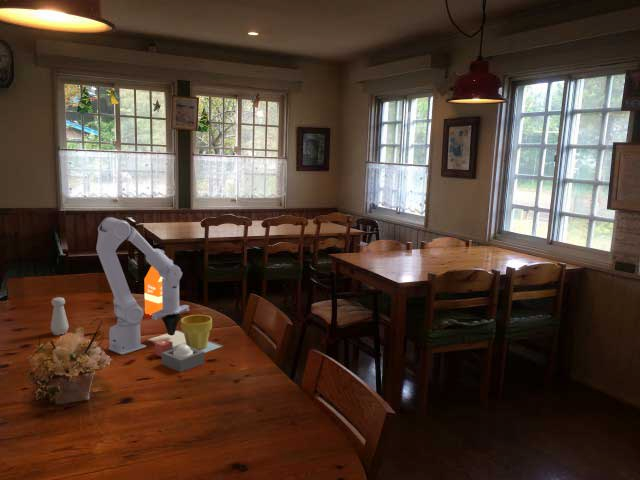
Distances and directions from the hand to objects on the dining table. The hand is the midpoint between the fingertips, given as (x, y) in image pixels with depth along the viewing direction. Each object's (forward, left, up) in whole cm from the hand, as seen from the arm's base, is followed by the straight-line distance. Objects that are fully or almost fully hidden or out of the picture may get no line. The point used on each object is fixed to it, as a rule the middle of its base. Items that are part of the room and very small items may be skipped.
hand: (171, 334), depth 189 cm
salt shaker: (-23, +33, -2) cm, 40 cm away
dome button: (-12, -21, 0) cm, 24 cm away
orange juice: (+15, +27, -2) cm, 31 cm away
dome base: (-12, -21, -1) cm, 24 cm away
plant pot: (0, -13, -2) cm, 13 cm away
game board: (0, -7, -1) cm, 7 cm away
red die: (-11, -10, -1) cm, 15 cm away
